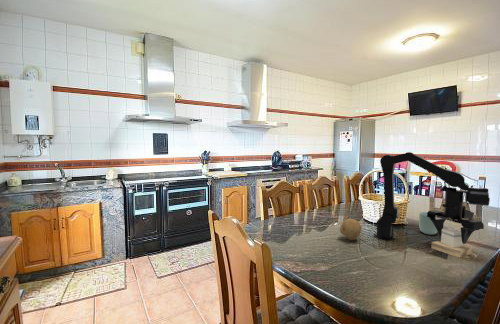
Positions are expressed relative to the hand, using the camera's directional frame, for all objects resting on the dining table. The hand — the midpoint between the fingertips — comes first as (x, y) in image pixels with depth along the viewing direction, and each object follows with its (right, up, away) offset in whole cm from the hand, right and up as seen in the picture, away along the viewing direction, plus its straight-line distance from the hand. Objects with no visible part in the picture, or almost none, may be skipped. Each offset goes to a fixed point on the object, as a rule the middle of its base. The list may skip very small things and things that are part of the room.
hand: (452, 239), depth 101 cm
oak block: (0, -5, 0) cm, 5 cm away
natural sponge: (-38, -4, +12) cm, 40 cm away
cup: (+6, -4, +21) cm, 22 cm away
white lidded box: (0, -2, 0) cm, 2 cm away
